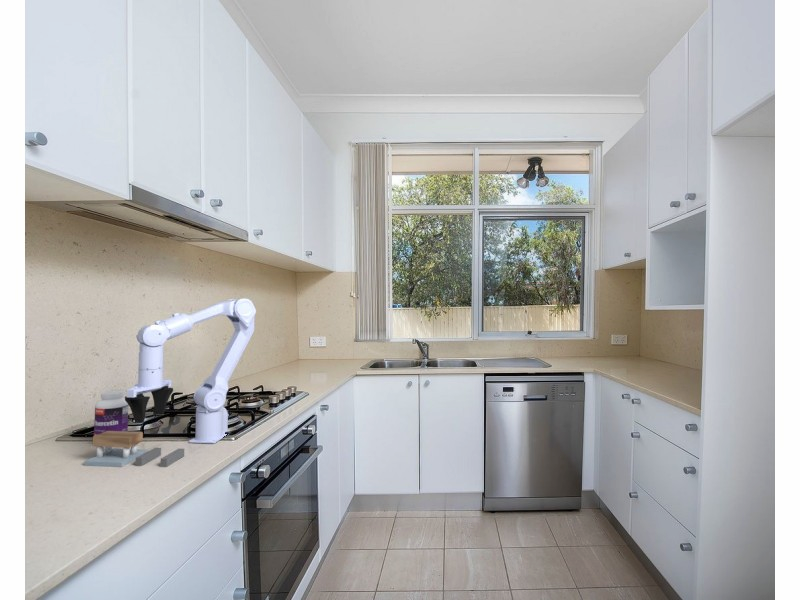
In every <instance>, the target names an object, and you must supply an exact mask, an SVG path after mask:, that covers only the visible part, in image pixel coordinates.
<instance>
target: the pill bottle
mask: <svg viewBox="0 0 800 600" xmlns="http://www.w3.org/2000/svg"><path fill="white" fill-rule="evenodd" d="M124 396H125V390H119V389H117V390H108V391H107V390H106V391H103V392H101V393H100V399H101V400H98V401H97V402H96V404H95V406H94V425H93V427H94V428H93V430H94V431H93V436H95V435H98V434H101V433H103V432H106V431H127V432H129V429H128V428H129V426H128V425H129V405H128V403H127V402H126V401H125V397H124Z"/></svg>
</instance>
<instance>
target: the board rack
mask: <svg viewBox="0 0 800 600" xmlns="http://www.w3.org/2000/svg"><path fill="white" fill-rule="evenodd" d="M160 456H162V447H154V448H152V449H150V450H148V452H146V453H144V454H142V455H140V456H138V457H136V460H135V466H137V467H142V466H144V465H146V464H147V463H149V462H151V461H153V460H155V459H156V458H159V457H160ZM184 457H185V448H177V449H175V450H174V451H172V452H170V453H168V454H166V455H164V456H163V457H161V458H160V468H163V467H165V468H166V467H169V466H170V465H173V464H174V463H175V462H177V461H178V460H180V459H183V458H184Z"/></svg>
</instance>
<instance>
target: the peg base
mask: <svg viewBox="0 0 800 600" xmlns="http://www.w3.org/2000/svg"><path fill="white" fill-rule="evenodd" d="M148 451H149V449H142V448H141V449H139V448H138V444H136V445H134V446H132V447H122V448H116V447H101V446H96V455H95V456H93V457H91V458H89V459H86V460H84V461H83V466H87V467H88V466H90V467H91V466H92V467H112V468H115V467H117V468H119V467H120V468H122V467H124V466H126V465H128V464H130V463H132V462H133V461H136V457H138V456H140V455H142V454H144V453H146V452H148Z"/></svg>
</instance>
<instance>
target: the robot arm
mask: <svg viewBox="0 0 800 600" xmlns="http://www.w3.org/2000/svg"><path fill="white" fill-rule="evenodd" d="M256 313H257V309H256V308H255V305H254V303H253V301H251V299H248V298H245V297H244V298H229V299H228V300H223V301H219V302H216V303H213V304H211V305H209V306H207V307H204V308H202V309H200V310H198V311H195V312H193V313H190V314H187V313H183V312H181V313H179V312H175V313H172V314H171V316H170V317H168V318H164V319H161V320H159V319H158V320H155V321H154V324H148V325H144V326H142V327H141V328H140V329H139V330H138V331H137V334H136V336H135V337H136V340H137V342H139V347H138V349H139V352H138V366H137V367H138V371H137V372H138V373H137V376H138V377H137V383H136V384H134V386H133V387H131V388H130V389H127V390H126V396H125V395H124V396H125V397H124V398H125V401H126V402H127V403H128V405H129V406H128V408H130V411H131V413H132V416H133V420H134V423H137V424H138V423H140V424H141V423H145V421H146V420H145V419H146V411H147V406H148V404H149V401H150V399H151V396H148V395H147V396H145V394H148V393H151V395H152V399H153V407H154V409H153V411H154V414H155V416H156V415H159V416H160V415H162V416H163V415H164V414H165V411H166V407H167V404H168V401H169V399H170V396H171V395H172V394H173V392H174V387H172V379H164V344H166V343H165V342H166V341H167V340H172V339H175V338H176V337H179V336H180V335H183V334H186V333H188V332H190V331H192V329H193V327H194V325H197V324H199V323H202V322H205V321H207V320H210V319H213V318H215V317H219V316H225V317H227V318H228V319H229V320H230V321H231V323H232V325H233V328H234V332H233V334H232V336H231V337H230V339H229V341H228V343H227V345H226V346H225V349H224V351H222V354H221V356H220V358H219V360H218V362H217V363H216V365H215V367H214V369H213V371H212V373H211V374H210V375H209V376H208V377H207V378H206V379H205V380H204V382H203V383H202V385H200V386H199V387H198V388H197V389H196V390H195V391H194V394H193V401H194V403H195V404H196V405H197V406H196V409H195V437H193V438H191V439H189V440H188V443H189V444H190V443H193V444H194V443H195V444H216V443H218V442H219V441H220V440H222V439H224V438H225V437H227V436H228V435H227V434H225V432H226V431H228V429H229V428H228V425H229V423H228V422H229V420H228V419H229V414H228V413H229V412H228V410H227V409H226V408H225V407H224V405H225V403H226V400H227V394H228V391H229V380H230V378H231V377H232V375H233V372H234V371H235V370H236V369H235V368H236V367H237V365H238V363H239V361H240V359H241V357H242V355H243V354H244V351H245V349H246V347H247V346H248V344H249V342H250V340H251V338H252V336H253V334H254V331H255V317H256V316H255V315H256ZM228 432H229V431H228ZM226 435H227V436H226ZM224 436H225V437H224ZM223 437H224V438H223Z"/></svg>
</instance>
